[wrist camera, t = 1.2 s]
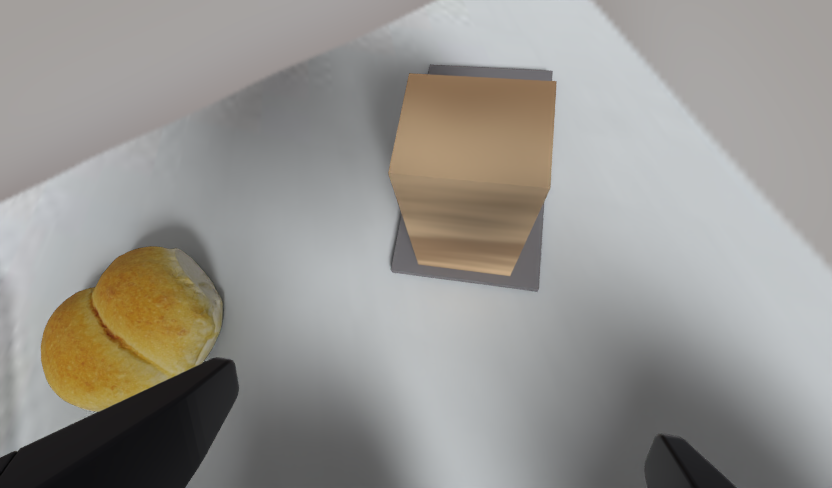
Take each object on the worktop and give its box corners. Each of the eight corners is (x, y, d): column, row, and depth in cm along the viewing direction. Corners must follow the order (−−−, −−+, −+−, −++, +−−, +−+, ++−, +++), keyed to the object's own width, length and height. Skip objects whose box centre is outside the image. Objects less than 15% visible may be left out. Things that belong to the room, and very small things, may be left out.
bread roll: (57, 334, 24) (-19, 324, 20) (182, 235, 25) (133, 209, 21) (117, 450, 21) (42, 464, 17) (252, 332, 22) (210, 322, 19)
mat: (537, 291, 21) (538, 289, 21) (392, 272, 22) (390, 269, 22) (550, 76, 26) (552, 70, 25) (430, 70, 27) (429, 64, 27)
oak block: (510, 276, 21) (550, 188, 12) (418, 264, 22) (388, 173, 13) (516, 208, 22) (556, 81, 13) (429, 199, 23) (409, 73, 14)
